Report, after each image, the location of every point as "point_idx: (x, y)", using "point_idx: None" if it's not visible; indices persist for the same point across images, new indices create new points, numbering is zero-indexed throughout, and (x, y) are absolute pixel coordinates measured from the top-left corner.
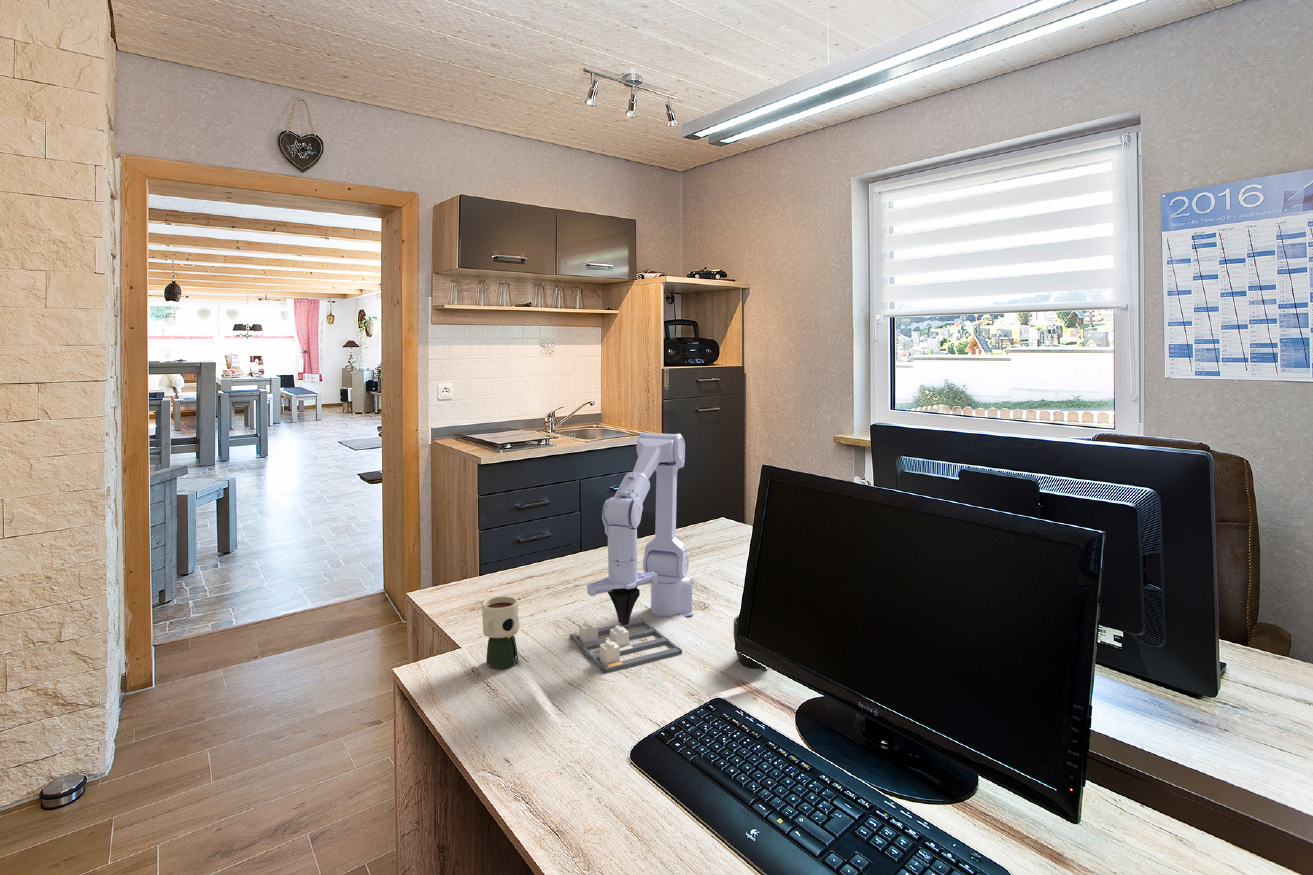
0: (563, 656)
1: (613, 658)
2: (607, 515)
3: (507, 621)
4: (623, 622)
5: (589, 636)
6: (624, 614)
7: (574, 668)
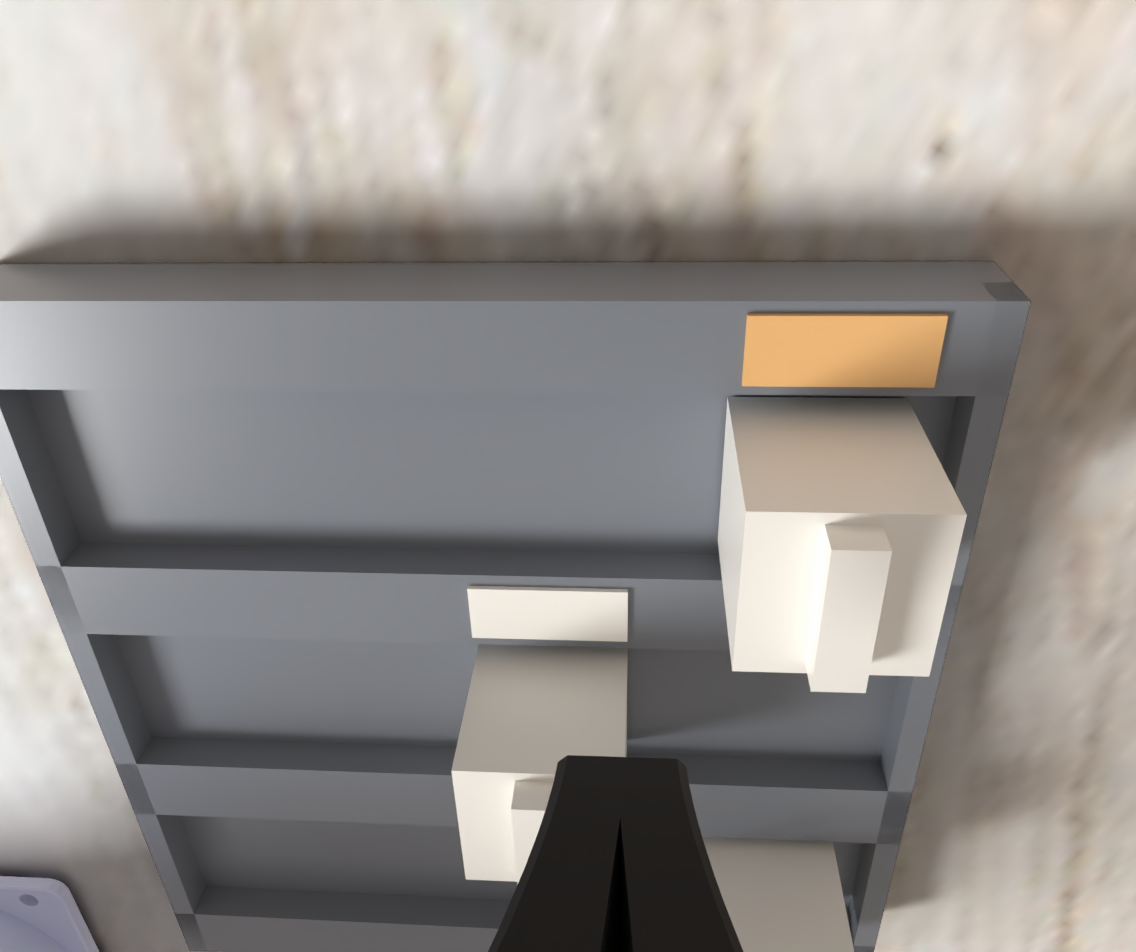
0: (1040, 781)
1: (821, 439)
2: None
3: None
4: (683, 798)
5: (792, 892)
6: (676, 945)
7: (1104, 577)
